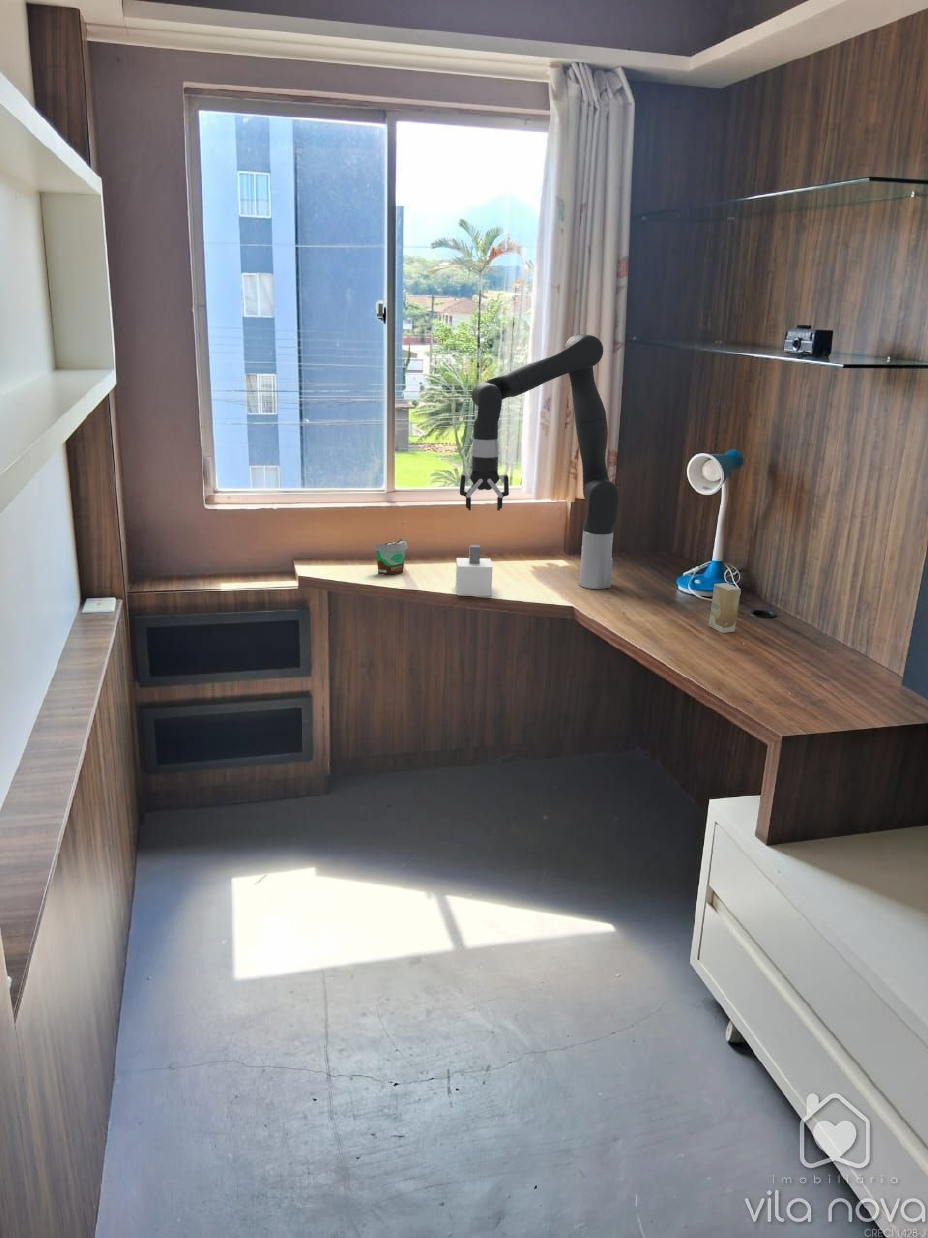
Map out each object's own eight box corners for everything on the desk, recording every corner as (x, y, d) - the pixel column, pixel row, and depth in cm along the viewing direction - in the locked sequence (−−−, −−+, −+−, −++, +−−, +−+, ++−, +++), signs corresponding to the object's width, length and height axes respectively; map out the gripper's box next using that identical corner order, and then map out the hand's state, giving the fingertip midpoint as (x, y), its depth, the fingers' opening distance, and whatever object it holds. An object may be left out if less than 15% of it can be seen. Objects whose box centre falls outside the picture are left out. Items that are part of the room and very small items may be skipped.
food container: (389, 578, 294) (389, 547, 291) (374, 574, 298) (375, 543, 295) (415, 571, 304) (415, 540, 301) (400, 567, 307) (400, 537, 304)
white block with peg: (489, 586, 289) (490, 542, 285) (491, 596, 280) (493, 550, 275) (455, 585, 289) (457, 541, 285) (456, 595, 279) (458, 549, 275)
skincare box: (707, 626, 258) (712, 583, 255) (720, 625, 260) (726, 582, 256) (722, 633, 253) (728, 589, 249) (735, 632, 254) (741, 588, 251)
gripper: (508, 452, 276) (506, 507, 281) (459, 452, 276) (458, 507, 281) (511, 456, 269) (509, 512, 274) (461, 456, 269) (460, 512, 274)
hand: (483, 510), depth 278 cm, fingers open, 8 cm apart
